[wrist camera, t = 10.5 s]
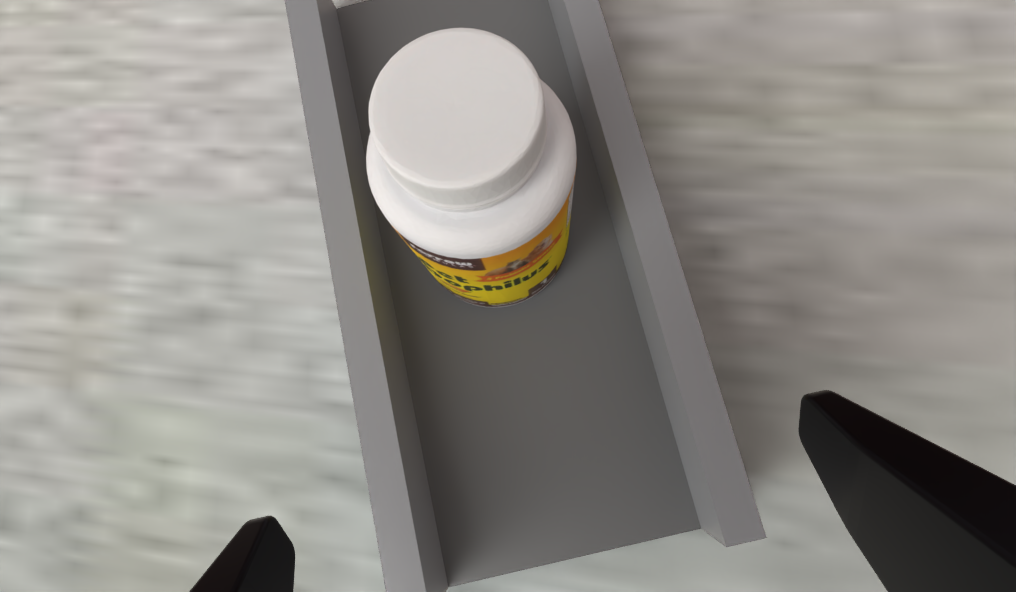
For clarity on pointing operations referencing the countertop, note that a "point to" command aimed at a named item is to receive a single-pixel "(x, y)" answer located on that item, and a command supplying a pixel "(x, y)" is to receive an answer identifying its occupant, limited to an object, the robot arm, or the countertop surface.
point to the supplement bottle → (473, 164)
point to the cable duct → (517, 329)
